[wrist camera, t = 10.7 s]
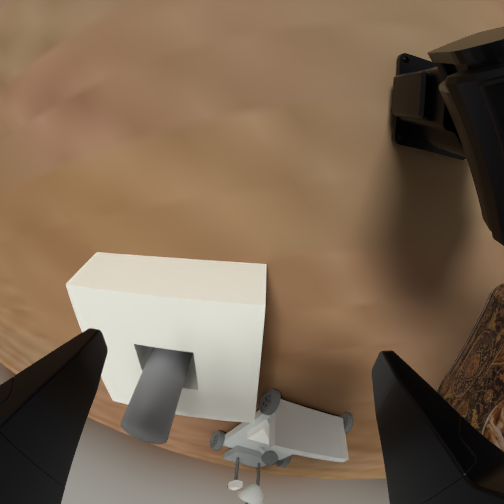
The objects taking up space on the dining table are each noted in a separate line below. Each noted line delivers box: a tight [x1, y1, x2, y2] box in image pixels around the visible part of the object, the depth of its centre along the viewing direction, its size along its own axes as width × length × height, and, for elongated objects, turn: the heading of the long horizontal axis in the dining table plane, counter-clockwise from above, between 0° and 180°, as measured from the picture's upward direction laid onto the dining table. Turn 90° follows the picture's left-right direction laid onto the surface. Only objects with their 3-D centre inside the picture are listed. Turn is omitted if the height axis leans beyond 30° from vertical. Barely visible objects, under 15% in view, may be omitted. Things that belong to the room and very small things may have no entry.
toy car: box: [210, 388, 353, 504], centre depth 29 cm, size 18×10×12 cm
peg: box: [121, 347, 193, 444], centre depth 20 cm, size 3×3×10 cm
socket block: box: [66, 252, 267, 423], centre depth 23 cm, size 14×14×5 cm
